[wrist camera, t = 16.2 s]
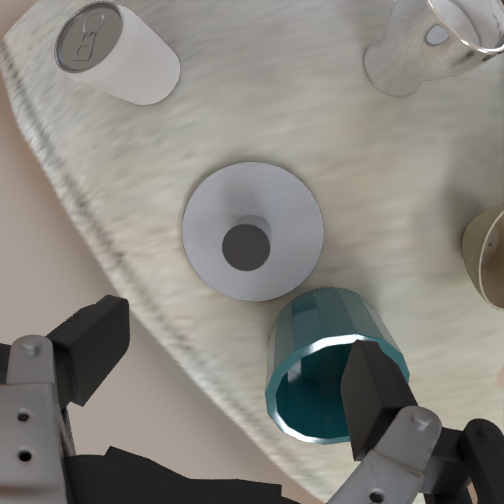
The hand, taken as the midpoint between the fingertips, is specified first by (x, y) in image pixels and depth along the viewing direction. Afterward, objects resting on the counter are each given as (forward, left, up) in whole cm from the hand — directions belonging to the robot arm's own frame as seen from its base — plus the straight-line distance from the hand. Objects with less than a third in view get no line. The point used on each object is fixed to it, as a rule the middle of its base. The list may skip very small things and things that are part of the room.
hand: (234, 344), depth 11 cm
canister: (+10, +8, -20) cm, 24 cm away
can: (-14, -13, -20) cm, 28 cm away
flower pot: (-3, +23, -20) cm, 31 cm away
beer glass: (-18, +10, -20) cm, 29 cm away
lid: (0, -1, -19) cm, 19 cm away
